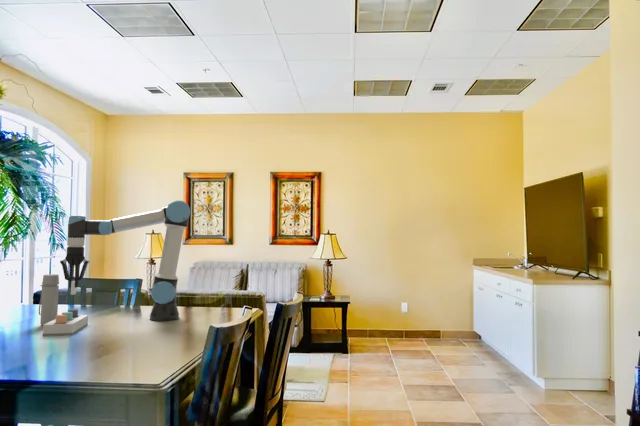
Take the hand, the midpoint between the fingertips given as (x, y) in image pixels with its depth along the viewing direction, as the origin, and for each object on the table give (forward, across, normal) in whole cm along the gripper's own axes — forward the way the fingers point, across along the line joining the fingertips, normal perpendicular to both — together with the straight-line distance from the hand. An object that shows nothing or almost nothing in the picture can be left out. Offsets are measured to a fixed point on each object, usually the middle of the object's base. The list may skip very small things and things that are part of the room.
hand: (73, 294), depth 212 cm
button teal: (+13, 0, +8) cm, 15 cm away
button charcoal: (+13, 0, 0) cm, 13 cm away
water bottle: (+16, +14, -8) cm, 23 cm away
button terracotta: (+13, 0, +15) cm, 20 cm away
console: (+16, 0, +8) cm, 18 cm away
